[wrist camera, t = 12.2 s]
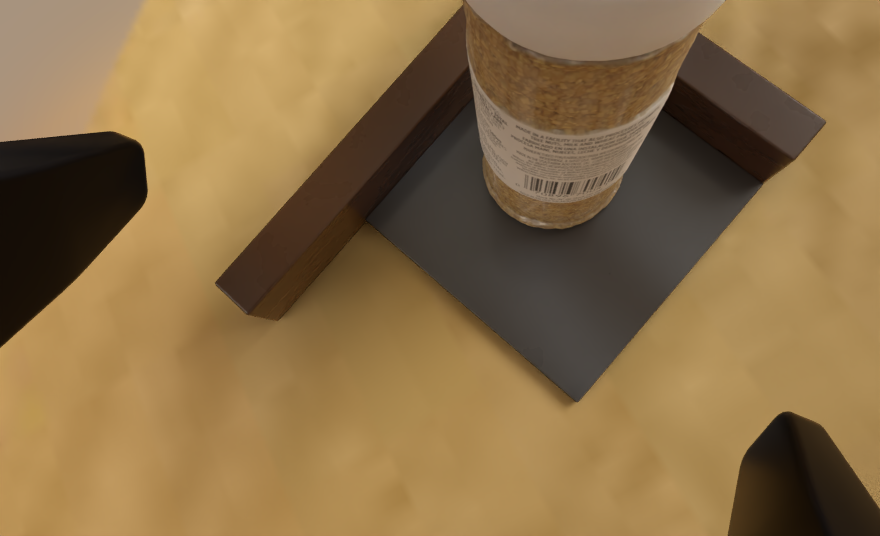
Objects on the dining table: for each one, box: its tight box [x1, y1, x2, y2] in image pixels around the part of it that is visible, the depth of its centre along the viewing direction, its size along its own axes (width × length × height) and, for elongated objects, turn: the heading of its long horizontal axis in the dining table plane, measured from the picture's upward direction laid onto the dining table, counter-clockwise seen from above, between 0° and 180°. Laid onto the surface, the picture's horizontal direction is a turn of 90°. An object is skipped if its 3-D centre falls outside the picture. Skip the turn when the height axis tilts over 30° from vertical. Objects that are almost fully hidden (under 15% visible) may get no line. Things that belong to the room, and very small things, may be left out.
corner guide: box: [215, 5, 826, 402], centre depth 20 cm, size 15×10×2 cm
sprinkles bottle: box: [463, 0, 726, 229], centre depth 14 cm, size 5×5×13 cm
